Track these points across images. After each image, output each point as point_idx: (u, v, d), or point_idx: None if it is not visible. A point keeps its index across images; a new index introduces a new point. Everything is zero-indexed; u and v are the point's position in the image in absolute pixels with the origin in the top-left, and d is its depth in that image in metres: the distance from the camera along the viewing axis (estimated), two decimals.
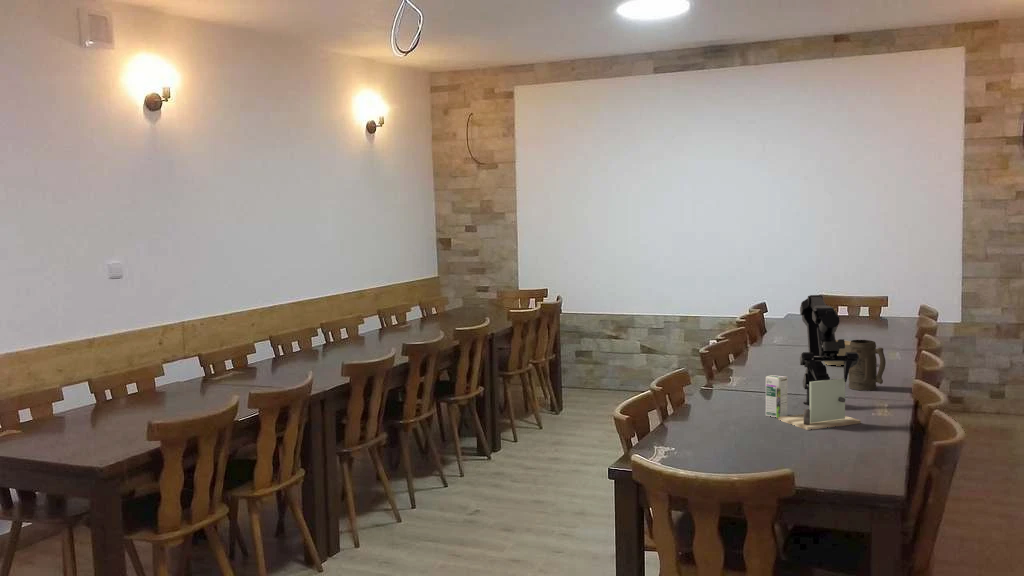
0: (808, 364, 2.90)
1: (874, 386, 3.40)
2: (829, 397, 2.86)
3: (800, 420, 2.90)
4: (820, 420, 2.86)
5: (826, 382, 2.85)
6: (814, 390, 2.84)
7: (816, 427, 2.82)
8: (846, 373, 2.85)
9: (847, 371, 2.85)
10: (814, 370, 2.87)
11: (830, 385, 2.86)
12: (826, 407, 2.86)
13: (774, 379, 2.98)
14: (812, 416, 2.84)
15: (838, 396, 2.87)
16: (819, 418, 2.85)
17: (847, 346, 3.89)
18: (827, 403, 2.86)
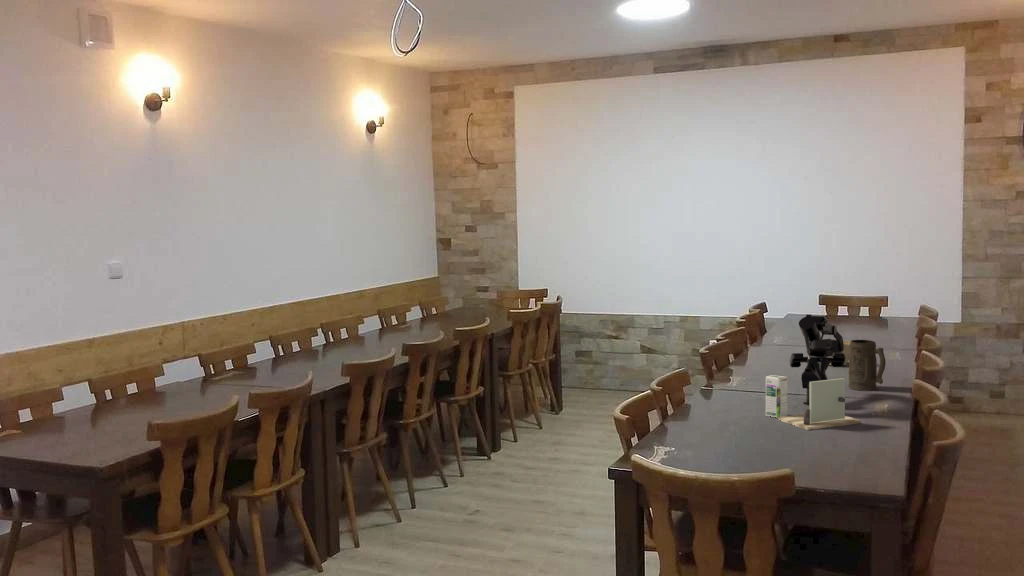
0: (810, 364, 3.05)
1: (874, 386, 3.40)
2: (829, 397, 2.86)
3: (800, 420, 2.90)
4: (820, 420, 2.86)
5: (826, 382, 2.85)
6: (814, 390, 2.84)
7: (816, 427, 2.82)
8: (822, 371, 3.01)
9: (822, 369, 3.01)
10: (817, 368, 3.02)
11: (830, 385, 2.86)
12: (825, 407, 2.86)
13: (774, 379, 2.98)
14: (812, 416, 2.84)
15: (838, 396, 2.87)
16: (819, 418, 2.85)
17: (847, 346, 3.89)
18: (827, 403, 2.86)
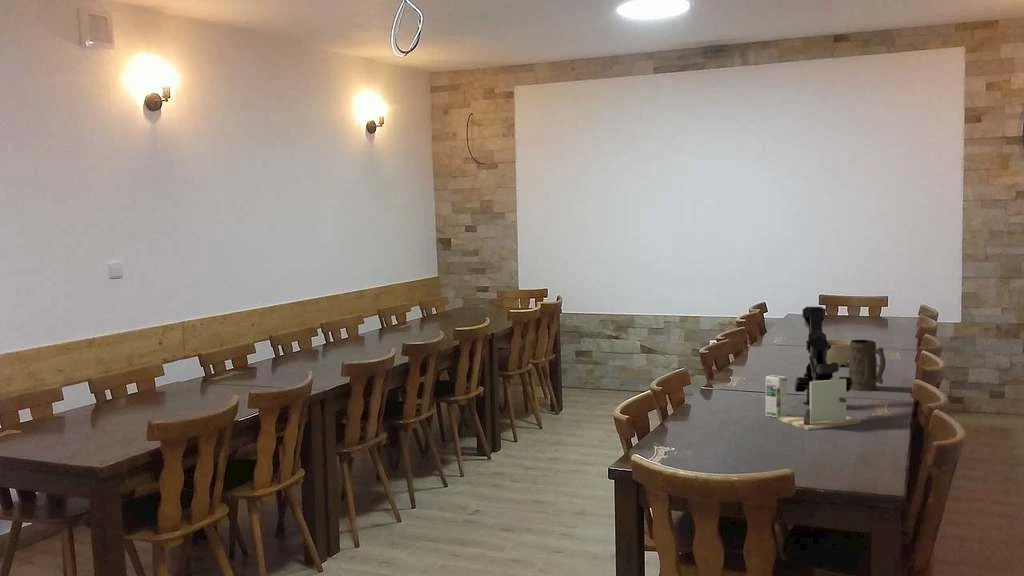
0: None
1: (874, 386, 3.40)
2: (830, 397, 2.86)
3: (800, 420, 2.90)
4: (820, 420, 2.85)
5: (827, 382, 2.85)
6: (814, 390, 2.84)
7: (816, 427, 2.82)
8: None
9: None
10: None
11: (831, 385, 2.86)
12: (826, 407, 2.86)
13: (774, 379, 2.98)
14: (812, 416, 2.84)
15: (839, 396, 2.87)
16: (819, 418, 2.85)
17: (847, 346, 3.89)
18: (827, 403, 2.86)
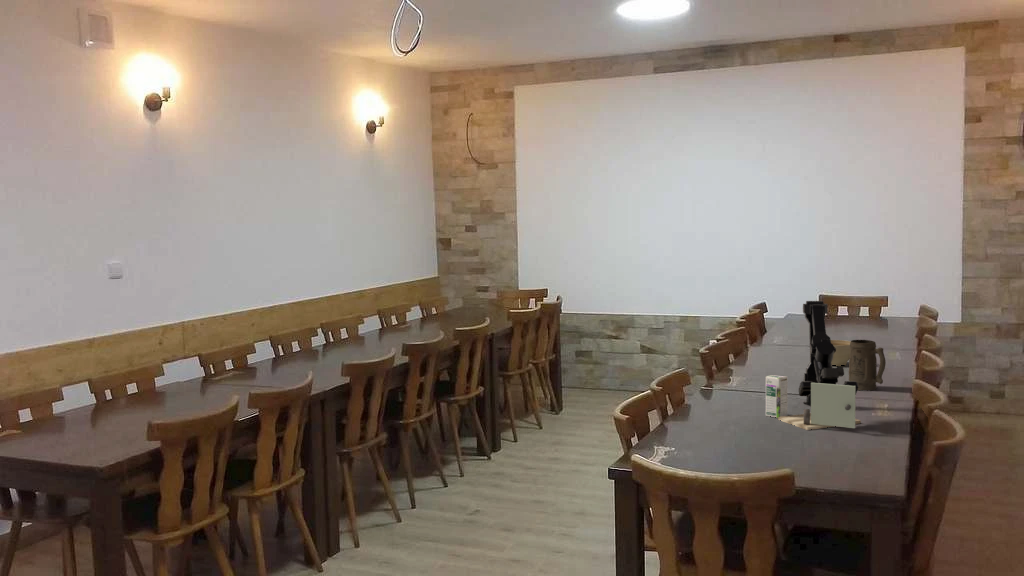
0: None
1: (874, 386, 3.40)
2: (834, 402, 2.78)
3: (800, 420, 2.90)
4: (822, 423, 2.81)
5: (830, 386, 2.79)
6: (814, 391, 2.82)
7: (816, 427, 2.82)
8: None
9: None
10: None
11: (835, 390, 2.78)
12: (829, 411, 2.79)
13: (774, 379, 2.98)
14: (812, 417, 2.83)
15: (845, 403, 2.76)
16: (821, 421, 2.81)
17: (847, 346, 3.89)
18: (831, 407, 2.79)
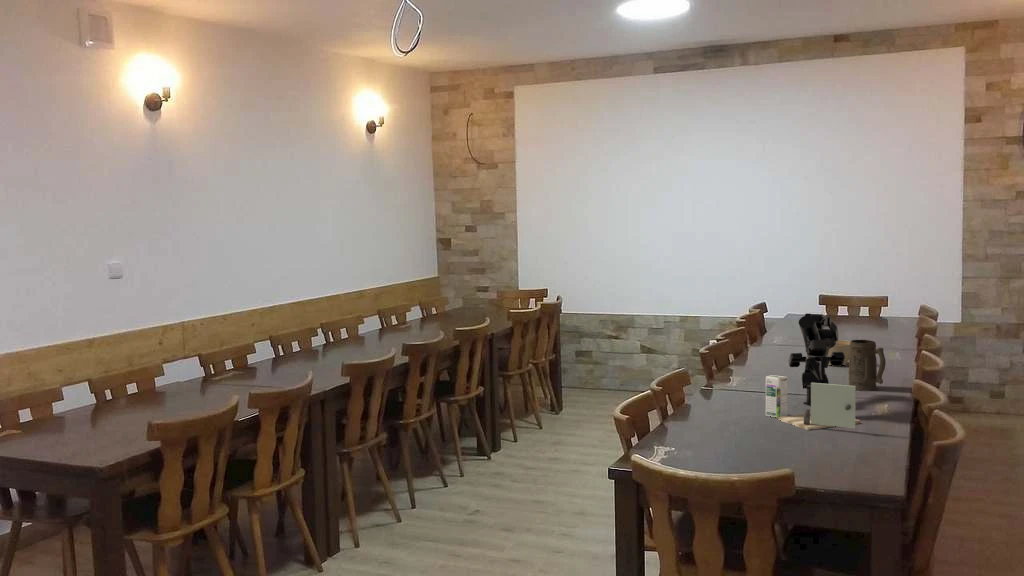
0: (809, 364, 3.02)
1: (874, 386, 3.40)
2: (834, 402, 2.78)
3: (800, 420, 2.90)
4: (822, 423, 2.81)
5: (830, 386, 2.79)
6: (814, 391, 2.82)
7: (816, 427, 2.82)
8: (822, 371, 2.98)
9: (823, 369, 2.99)
10: (815, 368, 2.99)
11: (835, 390, 2.78)
12: (829, 411, 2.79)
13: (774, 379, 2.98)
14: (812, 417, 2.83)
15: (845, 403, 2.76)
16: (821, 421, 2.81)
17: (847, 346, 3.89)
18: (831, 407, 2.79)
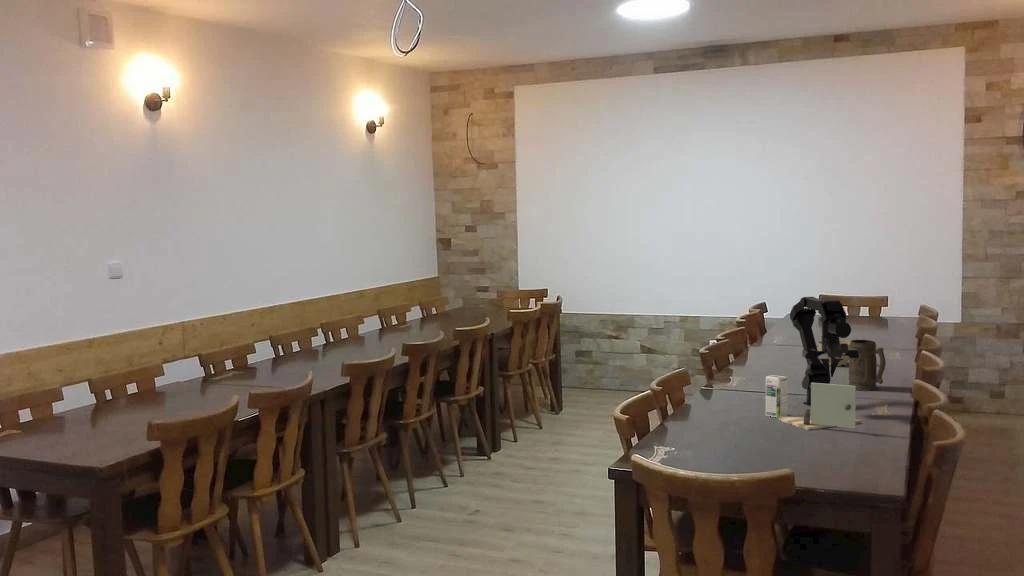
0: None
1: (874, 386, 3.40)
2: (834, 402, 2.78)
3: (800, 420, 2.90)
4: (822, 423, 2.81)
5: (830, 386, 2.79)
6: (814, 391, 2.82)
7: (816, 427, 2.82)
8: (833, 370, 3.03)
9: (834, 368, 3.02)
10: (827, 367, 3.03)
11: (835, 390, 2.78)
12: (829, 411, 2.79)
13: (774, 379, 2.98)
14: (812, 417, 2.83)
15: (845, 403, 2.76)
16: (821, 421, 2.81)
17: None
18: (831, 407, 2.79)
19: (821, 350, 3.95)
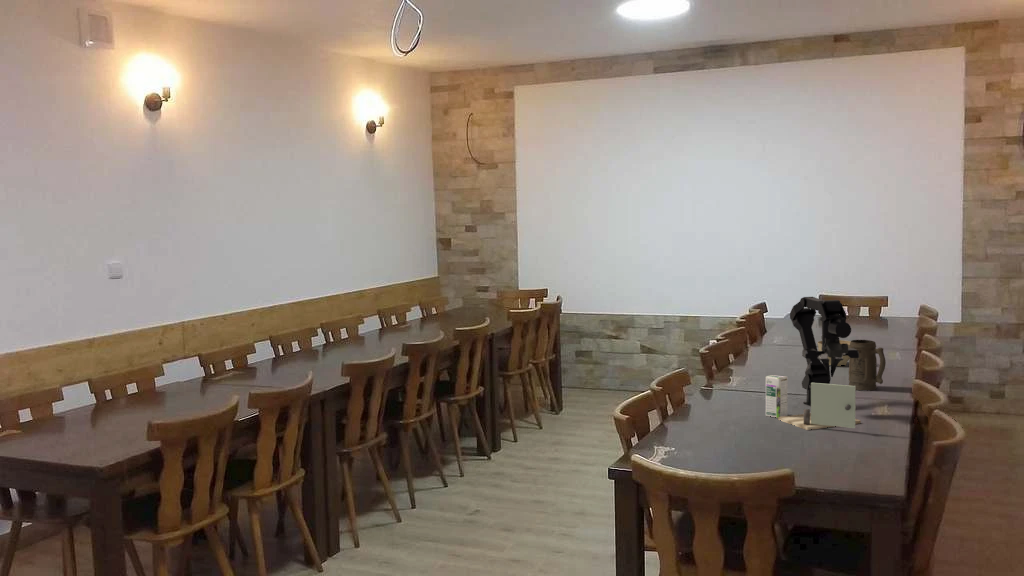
0: None
1: (874, 386, 3.40)
2: (834, 402, 2.78)
3: (800, 420, 2.90)
4: (822, 423, 2.81)
5: (830, 386, 2.79)
6: (814, 391, 2.82)
7: (816, 427, 2.82)
8: (833, 370, 3.03)
9: (834, 368, 3.02)
10: (827, 367, 3.03)
11: (835, 390, 2.78)
12: (829, 411, 2.79)
13: (774, 379, 2.98)
14: (812, 417, 2.83)
15: (845, 403, 2.76)
16: (821, 421, 2.81)
17: None
18: (831, 407, 2.79)
19: (821, 350, 3.95)
